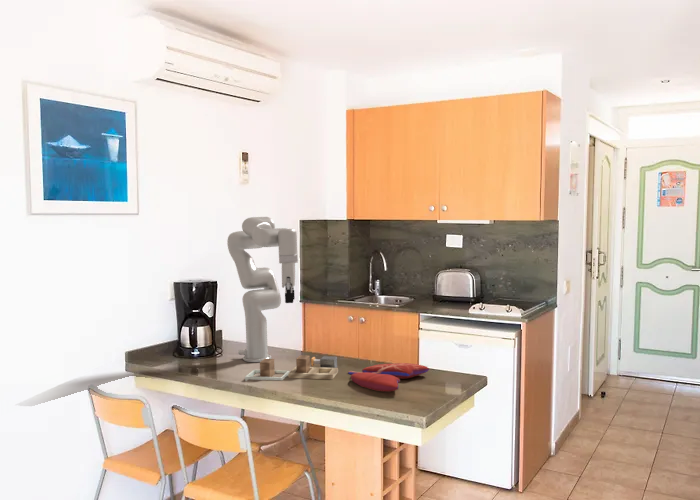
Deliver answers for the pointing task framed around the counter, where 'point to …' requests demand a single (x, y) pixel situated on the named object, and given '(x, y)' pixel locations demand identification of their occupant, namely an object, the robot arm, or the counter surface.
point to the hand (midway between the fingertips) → (290, 301)
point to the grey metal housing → (328, 362)
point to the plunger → (315, 361)
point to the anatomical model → (386, 375)
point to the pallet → (315, 373)
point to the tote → (250, 376)
